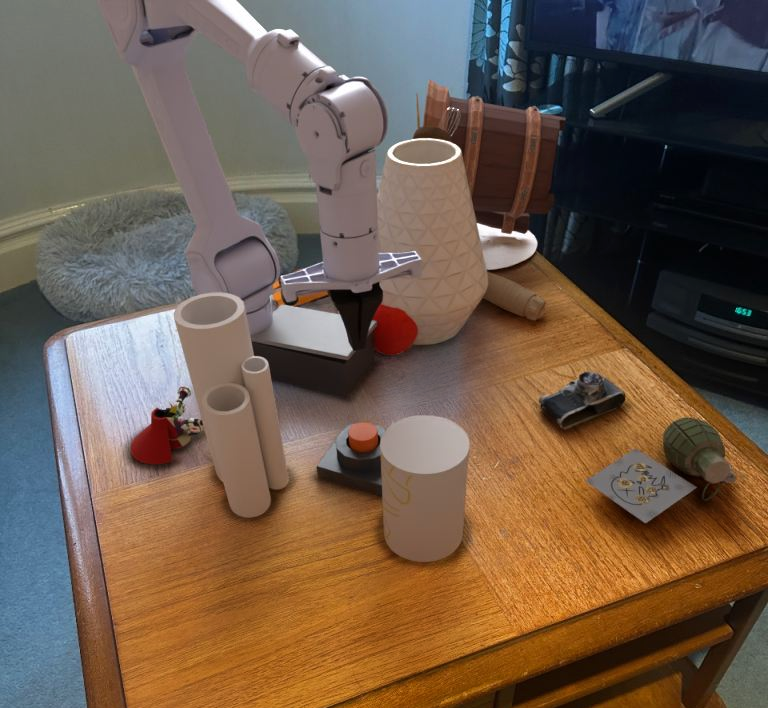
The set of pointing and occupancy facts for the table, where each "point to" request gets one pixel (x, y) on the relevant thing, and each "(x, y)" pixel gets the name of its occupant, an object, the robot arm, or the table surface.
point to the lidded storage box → (318, 368)
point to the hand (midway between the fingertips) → (356, 345)
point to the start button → (363, 437)
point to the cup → (424, 486)
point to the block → (353, 464)
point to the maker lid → (308, 332)
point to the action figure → (165, 432)
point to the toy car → (281, 299)
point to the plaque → (505, 247)
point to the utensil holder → (432, 129)
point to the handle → (514, 297)
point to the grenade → (697, 451)
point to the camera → (582, 400)
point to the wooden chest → (500, 156)
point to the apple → (393, 330)
